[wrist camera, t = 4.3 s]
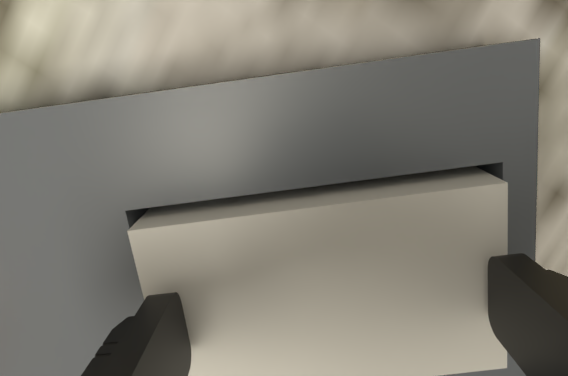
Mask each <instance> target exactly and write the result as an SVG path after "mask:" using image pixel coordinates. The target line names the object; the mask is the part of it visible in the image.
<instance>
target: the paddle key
mask: <svg viewBox="0 0 568 376" xmlns="http://www.w3.org/2000/svg"><path fill="white" fill-rule="evenodd" d="M127 232H128V236H129V240H130V244H131V249H132V253H133V257H134V261H135V265H136V269H137V273H138V277H139V281H140V285H141V289H142V293H143V297H144V300H145V298H146V297H147V296H148V295H155V294H164V293H173V292H177V293H178V294H179V296H180V299H181V302H182V307H183V312H184V316H185V321H186V326H187V330H188V335H189V340H190V345H191V366H190V371H189V374H188V376H440V375H449V374H458V373H467V372H476V371H485V370H494V369H503V368H507V351H506V349H505V348H504V347H503V345H502V344H501V343H500V342H499V340H498V339H497V338H496V336H495V335H494V333H493V331H492V328H491V325H490V322H489V317H488V261H489V259H490V258H491V257H492V256H501V255H508V183H507V182H505V181H503V180H501V179H499V178H497V177H495V176H493V175H491V174H489V173H487V172H485V171H483V170H481V169H479V168H477V167H475V166H469V167H461V168H453V169H446V170H438V171H430V172H422V173H415V174H407V175H399V176H391V177H383V178H376V179H368V180H360V181H352V182H345V183H337V184H329V185H321V186H314V187H306V188H298V189H290V190H283V191H275V192H267V193H259V194H251V195H244V196H236V197H228V198H220V199H213V200H205V201H197V202H189V203H182V204H174V205H166V206H158V207H151V208H149V209H148V210H147V211H146V212H145V213H144V215H143V216H142V217H141V218H140V219H139V220H138V221H137V222H136V223H135V224H134V225H133V226H132V227H131V228H130V229H129V230H128V231H127Z"/></svg>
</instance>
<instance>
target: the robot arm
mask: <svg viewBox="0 0 568 376" xmlns="http://www.w3.org/2000/svg"><path fill="white" fill-rule="evenodd" d="M488 317H489V322H490V325H491V328H492V331H493V333H494V335H495V336H496V338H497V339H498V340H499V342H500V343H501V344H502V345H503V347H504V348H505V349H506V351H507V352H508V353H509V354H510V356H511V357H512V358H513V359H514V361H515V362H516V363H517V365H518V366H519V367H520V368H521V370H522V371H523V372H524V373H525V375H526V376H568V277H566V276H564V275H561V274H559V273H556V272H554V271H552V270H545V269H544V268H543V267H541V266H540V265H539V264H537V263H536V262H535V261H533V260H532V259H531V258H530V257H528V256H527V255H525V254H524V253H518V254H509V255H501V256H492V257H491V258H490V259H489V261H488ZM190 366H191V345H190V340H189V335H188V330H187V326H186V321H185V316H184V312H183V307H182V302H181V299H180V296H179V294H178V293H177V292H173V293H164V294H155V295H148V296H147V297H146V298H145V300H144V301H143V303H142V305H141V306H140V308H139V309H138V311H137V313H136V314H135V316H130V317H127V318H126V319H124V320H123V321H122V322H121V323H119V324H118V325H117V326H116V327H114V328H113V329H112V330H111V332H110V333H109V335H108V336H107V338H106V339H105V341H104V342H103V346H100V348H99V349H98V351H97V352H96V354H95V358H92V360H91V361H90V363H89V364H88V366H87V367H86V369H85V370H84V372H83V373H82V375H81V376H188V374H189V371H190Z"/></svg>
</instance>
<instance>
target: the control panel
mask: <svg viewBox="0 0 568 376" xmlns="http://www.w3.org/2000/svg"><path fill="white" fill-rule="evenodd" d="M539 62H540V38H538V39H531V40H523V41H515V42H507V43H499V44H491V45H484V46H476V47H469V48H462V49H455V50H448V51H441V52H433V53H426V54H419V55H412V56H405V57H397V58H390V59H383V60H376V61H369V62H361V63H354V64H347V65H340V66H333V67H325V68H318V69H311V70H304V71H297V72H289V73H282V74H275V75H268V76H261V77H254V78H246V79H239V80H232V81H225V82H218V83H210V84H203V85H196V86H189V87H182V88H174V89H167V90H160V91H153V92H146V93H138V94H131V95H124V96H117V97H110V98H102V99H95V100H88V101H81V102H74V103H66V104H59V105H52V106H45V107H38V108H30V109H23V110H16V111H9V112H2V113H0V376H81V375H82V373H83V372H84V370H85V369H86V367H87V366H88V364H89V363H90V361H91V360H92V358H95V354H96V352H97V351H98V349H99V348H100V346H103V342H104V341H105V339H106V338H107V336H108V335H109V333H110V332H111V330H112V329H113V328H114V327H116V326H117V325H118V324H119V323H121V322H122V321H123V320H124V319H126V318H127V317H130V316H135V314H136V313H137V311H138V309H139V308H140V306H141V305H142V303H143V301H144V297H143V293H142V289H141V285H140V281H139V277H138V273H137V269H136V265H135V261H134V257H133V253H132V249H131V244H130V240H129V236H128V232H127V231H128V230H129V229H130V228H131V227H132V226H133V225H134V224H135V223H136V222H137V221H138V220H139V219H140V218H141V217H142V216H143V215H144V213H145V212H146V211H147V210H148V209H149V208H151V207H158V206H166V205H174V204H182V203H189V202H197V201H205V200H213V199H220V198H228V197H236V196H244V195H251V194H259V193H267V192H275V191H283V190H290V189H298V188H306V187H314V186H321V185H329V184H337V183H345V182H352V181H360V180H368V179H376V178H383V177H391V176H399V175H407V174H415V173H422V172H430V171H438V170H446V169H453V168H461V167H469V166H475V167H477V168H479V169H481V170H483V171H485V172H487V173H489V174H491V175H493V176H495V177H497V178H499V179H501V180H503V181H505V182H507V183H508V255H509V254H518V253H524V254H525V255H527V256H528V257H530V258H531V259H532V260H533V261H535V244H536V199H537V153H538V108H539ZM440 376H526V375H525V373H524V372H523V371H522V370H521V368H520V367H519V366H518V365H517V363H516V362H515V361H514V359H513V358H512V357H511V356H510V354H509V353H508V352H507V368H503V369H494V370H485V371H476V372H467V373H458V374H449V375H440Z"/></svg>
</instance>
